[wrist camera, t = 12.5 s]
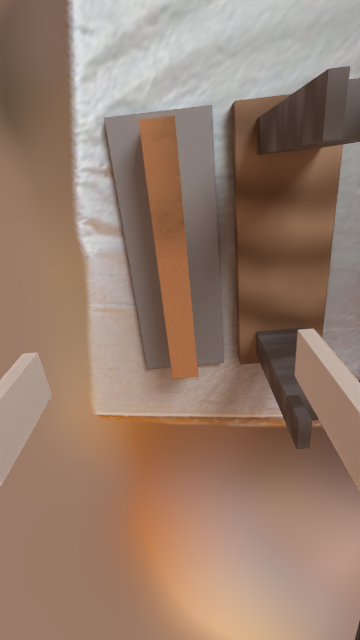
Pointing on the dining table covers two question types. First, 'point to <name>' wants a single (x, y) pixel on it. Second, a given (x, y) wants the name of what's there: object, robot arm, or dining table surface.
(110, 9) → the dining table surface
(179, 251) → the copper rail
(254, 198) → the rail stand
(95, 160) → the dining table surface
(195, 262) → the rubber mat
